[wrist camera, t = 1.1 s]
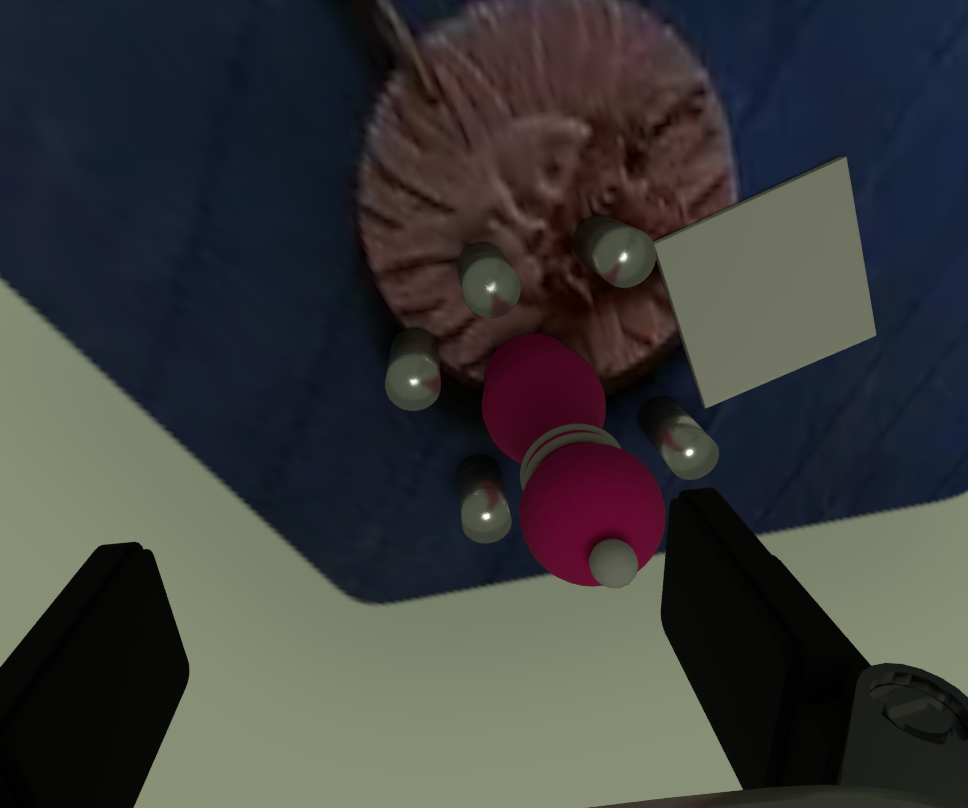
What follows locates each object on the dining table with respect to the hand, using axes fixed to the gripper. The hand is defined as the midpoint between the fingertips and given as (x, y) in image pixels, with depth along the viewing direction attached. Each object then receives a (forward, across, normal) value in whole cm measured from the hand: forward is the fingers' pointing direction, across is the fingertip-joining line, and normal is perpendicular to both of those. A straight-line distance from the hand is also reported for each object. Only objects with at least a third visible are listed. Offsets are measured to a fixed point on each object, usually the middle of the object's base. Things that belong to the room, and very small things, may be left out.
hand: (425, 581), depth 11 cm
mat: (+28, -22, +2) cm, 35 cm away
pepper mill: (+28, -6, +7) cm, 30 cm away
